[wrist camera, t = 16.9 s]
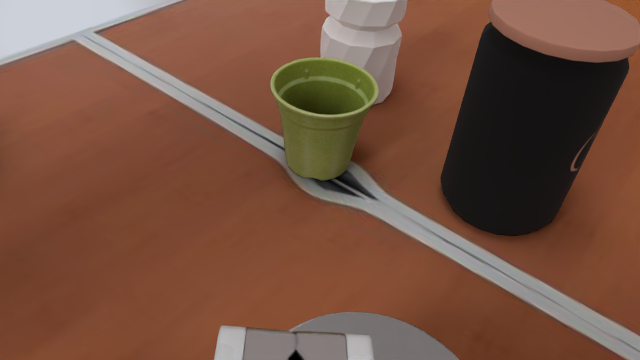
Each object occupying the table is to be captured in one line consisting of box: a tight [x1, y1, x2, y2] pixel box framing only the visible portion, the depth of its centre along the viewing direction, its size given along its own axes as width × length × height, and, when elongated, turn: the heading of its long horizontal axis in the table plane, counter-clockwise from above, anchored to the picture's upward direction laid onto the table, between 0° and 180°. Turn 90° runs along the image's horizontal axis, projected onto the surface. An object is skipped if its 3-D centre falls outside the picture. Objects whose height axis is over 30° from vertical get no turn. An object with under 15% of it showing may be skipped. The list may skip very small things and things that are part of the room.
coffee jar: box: [441, 0, 640, 236], centre depth 45 cm, size 11×11×18 cm
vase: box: [320, 0, 407, 105], centre depth 60 cm, size 9×9×12 cm
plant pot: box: [270, 58, 379, 180], centre depth 50 cm, size 9×9×9 cm
